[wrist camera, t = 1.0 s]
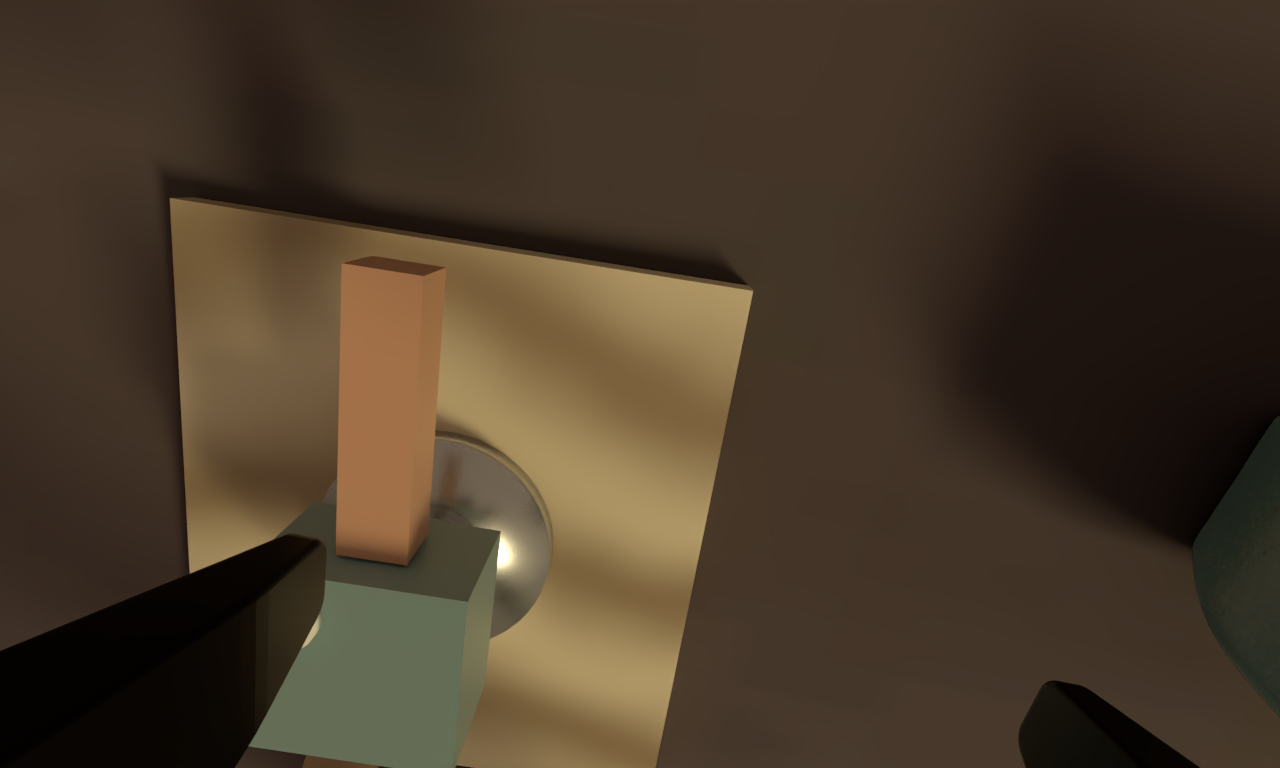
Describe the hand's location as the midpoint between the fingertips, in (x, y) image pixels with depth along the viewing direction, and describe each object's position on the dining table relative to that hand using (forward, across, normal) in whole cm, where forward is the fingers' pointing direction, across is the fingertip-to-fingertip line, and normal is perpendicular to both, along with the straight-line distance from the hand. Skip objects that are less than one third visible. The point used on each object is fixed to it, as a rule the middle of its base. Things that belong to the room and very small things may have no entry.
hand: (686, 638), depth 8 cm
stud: (+12, +6, +7) cm, 15 cm away
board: (+12, +6, +7) cm, 15 cm away
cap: (+8, +6, +4) cm, 11 cm away
